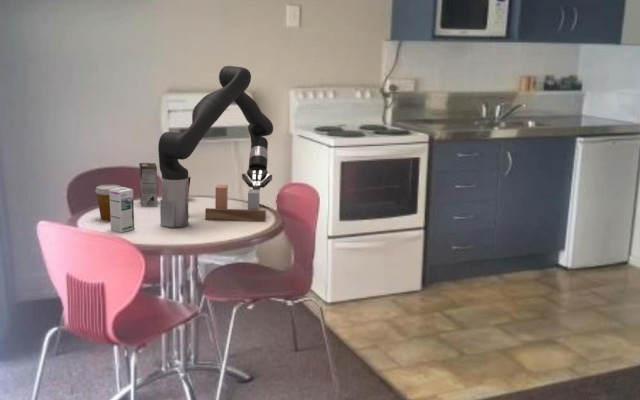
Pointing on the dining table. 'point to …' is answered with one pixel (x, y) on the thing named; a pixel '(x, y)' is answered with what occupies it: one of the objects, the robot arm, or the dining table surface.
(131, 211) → the syrup box
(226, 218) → the brown wooden flat block
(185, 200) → the robot arm
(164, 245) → the dining table surface
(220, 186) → the terracotta plug
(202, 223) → the dining table surface
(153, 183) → the coffee box
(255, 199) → the slate plug
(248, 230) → the dining table surface
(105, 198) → the disposable coffee cup
